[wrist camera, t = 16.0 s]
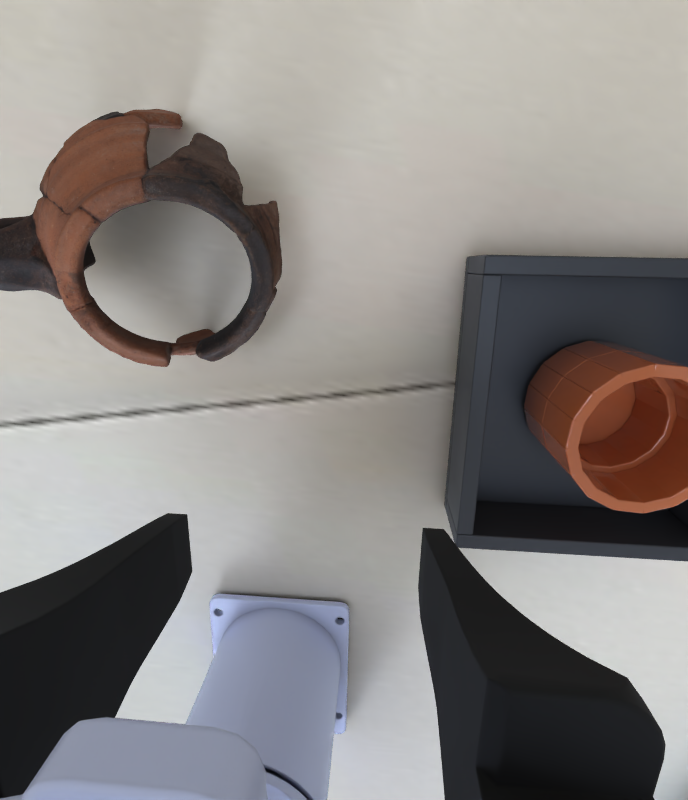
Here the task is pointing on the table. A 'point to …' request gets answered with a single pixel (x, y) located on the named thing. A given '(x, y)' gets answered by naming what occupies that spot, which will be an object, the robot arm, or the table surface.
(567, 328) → the tray
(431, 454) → the table surface
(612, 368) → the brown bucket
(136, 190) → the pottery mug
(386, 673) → the table surface
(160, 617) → the robot arm
